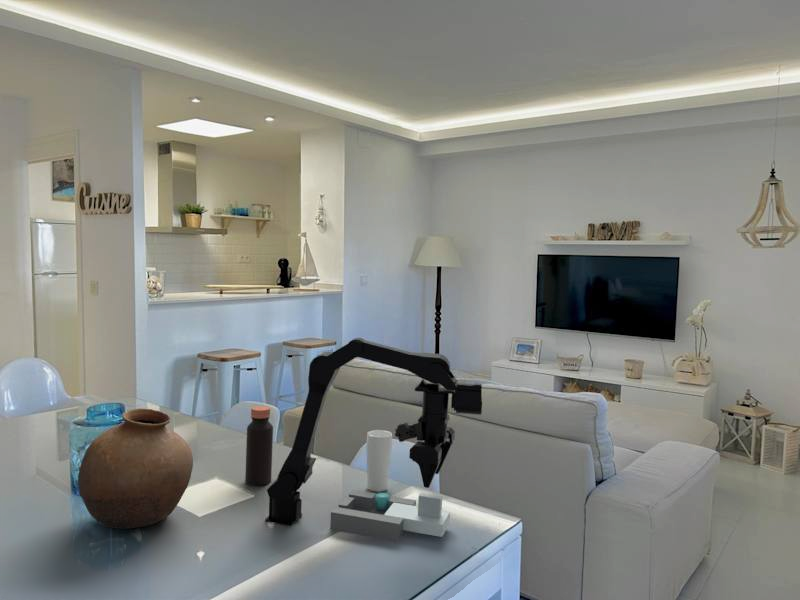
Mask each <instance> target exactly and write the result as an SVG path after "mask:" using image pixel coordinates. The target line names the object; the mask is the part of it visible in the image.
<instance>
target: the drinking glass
mask: <svg viewBox="0 0 800 600" xmlns="http://www.w3.org/2000/svg"><path fill="white" fill-rule="evenodd" d="M365 449H366V469H367V470H366V471H367V472H366V473H367V485H366V486H367V489H368V490H369V491H371V492H373V493H376V492H377V493H382V492H384V491H386V490H387V488H388V480H389V475H390V474H389V472H390V466H391V460H392V459H391V457H392V450H393V433H392V432H391V431H388V430H385V429H384V430H383V429H374V430H370V431H367V435H366V448H365Z"/></svg>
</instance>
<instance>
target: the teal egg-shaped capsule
mask: <svg viewBox="0 0 800 600" xmlns="http://www.w3.org/2000/svg"><path fill="white" fill-rule="evenodd" d="M375 494H376V501H375V508H376V509H379V510H387V509H388V508H389V500H390V499H391V495H390V494H389V493H386V492H377V493H375Z"/></svg>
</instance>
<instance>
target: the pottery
mask: <svg viewBox="0 0 800 600" xmlns="http://www.w3.org/2000/svg"><path fill="white" fill-rule="evenodd" d="M121 418H122V420H123V422H122V423H120V424H117V425H115V426H113V427H110V428H108V429H106V430H105V431H104V432H102V433H100V434H99V435H98V436H97V437H95V438H94V440H92V442H91V443H90V444H89V446H88V447H87V448H86V450H85V452H84V455H83V457H82V460H81V463H80V467H79V471H78V475H77V485H78V491H79V494H80V497H81V499H82V503H83V504H84V505H85V508H86V510H87V512H88V513H89V514H90V516H91V518H92V519H94V520H95V521H96V522H98V523H100V524H101V525H103V526H105V527H108V528H112V529H123V530H124V529H127V530H129V529H137V528H143V527H148V526H151V525H154V524H156V523H158V522H161V521H162V520H164V519H167V518H168V516H170V515H171V514H172V512H174V510H175V509H176V508H177V505H178V504H179V503H180V501H181V500H182V497H183V496H184V494H185V491H186V490H187V489H188V485H189V483H190V480H191V477H192V473H193V472H192V471H193V467H194V456H193V452H192V449H191V448H190V446H189V444H188V443H187V441H185V439H184V438H183V437H182V436H181V435H179V433H177V432H176V431H174V430H172V429H171V428H169V427H167V425H168V424H170V422H171V417H170V415H168V413H165V412H163V411H160V410H155V409H150V408H135V409H130V410H127V411H124V412H123V413H122V414H121Z"/></svg>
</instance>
